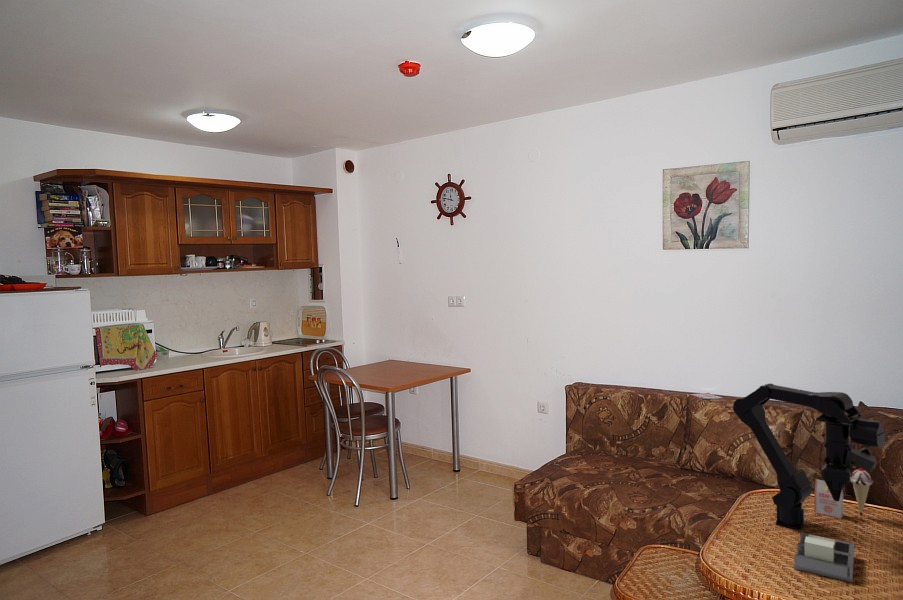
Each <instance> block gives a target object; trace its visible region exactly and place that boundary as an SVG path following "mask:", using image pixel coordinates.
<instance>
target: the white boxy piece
mask: <svg viewBox="0 0 903 600" xmlns="http://www.w3.org/2000/svg"><path fill="white" fill-rule="evenodd" d="M814 480H815V484H814V493H813V494H814V496H813V497H814V501H813V502H814V509H813V510H814V514H817V515H822V516H825V517H829V518H835V519H838V520H841V519H842V518H843V516H844V491H843V489H842V491H841V495H840V500H839V501H834V499H833V497H832V495H831V493H830V491H829V489H828V487H827V485H826V483H825V481H824V479H823V480H821V479H816V478H815V479H814Z"/></svg>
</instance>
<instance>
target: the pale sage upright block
mask: <svg viewBox="0 0 903 600" xmlns="http://www.w3.org/2000/svg"><path fill="white" fill-rule="evenodd" d="M805 556H807V557H811V558H816V559H820V560H825V561H829V562H834V542H831V541H826V540H821V539H816V538H811V537H807V536H806V538H805Z"/></svg>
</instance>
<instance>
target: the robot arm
mask: <svg viewBox="0 0 903 600" xmlns="http://www.w3.org/2000/svg"><path fill="white" fill-rule="evenodd" d="M770 400H772V401H773V400H774V401H777V402H783V403H789V404H794V405H798V406H804V407H808V408H812V409H814V410H816V411H817V412H818V413H821V414H820V416H818V417H816V418H815V420H816V421H817V422H824V442H823V443H824V447H823V448H824V459H823V461H824V463H825V464H824V465H822V468H821V478H822V479H823V481H825V483H826V485H827V487H828V489H829V491H830V493H831V495H832V497H833V499H834V501H839V500H840V495H841V491H842V490H843V487H844V485H845V484H849V483H850V482H851V481H850V477H851V469H850V468H852V465H853V466H855V467H858V468H862V469H863V470H864V471H866V472H868V473H872V471H873V470H874V467H875V465H876V463H877V458H876V457H875V455H872V453H871V452H872V451H871V449H869V448H868V447H865V446H869V447H872V448H878V449H881V448H883V446H884V445H885V442H886V432H885V429H884V426H883V422H882V421H881V420H875V419H874V420H870V419H864V418H863V416H862V414H861V413H860V412H859V410H858V409H857V408H856V407H855V405H854V402H853V399H852V398H851V397H850V396H849V394H847V393H846V392H840V391H821V392H814V391H809V390H803V389H799V388H793V387H788V386H781V385H776V384H774V383H766V384H763V385H760V386H758V388H757V389H756V390H754V391H753V392H751V393H749V394H748V395H746V396H744V397H741V398H736V400H735V401H733V405H732V410H733V412H734V414H735V415H736V417H737V418H738V419H739V420H740V422H742V423H743V424H744V425H746V426H747V427H748V428H749V429H750V430H751V432H752V434H753V435H754V437H755V439H756V441H757V442H758V444H759V446H760V448H761V449H762V451H763V453H764V455H765V456H766V458H767V459H768V461H769V463H770V465H771V467H772V468H773V470H774V471H775V474H776V479H777V480H776V482H777V486H778V489H779V492H778V493H776V494H775V495H773V496H772V497H771V499H772V502H773V504H774V505H775V506H776V520H775V525H776V526H780V527H785V528H790V529H795V530H801V531H802V527H803V526H804V525H805V520H806V519H805V517H806V516H805V508H803V503H804V502H805V500H806V499H807V498H809V497H810V496H811V494H812V492H813V488H812V481H810V480H809V479H808V477H807V474H806V472H805V471H804V470H803V469H802V470H800V471H798V470H797V469H796V468H795V467H793V465H792V463H791V462H790V460H789V459H788V457H787V455H786V454H785V452H784V450H783V448H782V447H781V445H780V443H779V442H778V439H777V438H776V437H775V435H774V433H773V432H772V429H771V428H770V427H769V425H768V423H767V421H766V420H767V419H766V411H765V409H764V405H765V404H767V403H768V402H769V401H770ZM851 441H852V442H853V443H854V444H858V445H862V446H864V447H862V448H860V449H858V448H857V449H856V448H852V447H853V446H852V445H853V444H852V442H851Z"/></svg>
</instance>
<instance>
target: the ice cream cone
mask: <svg viewBox="0 0 903 600" xmlns="http://www.w3.org/2000/svg"><path fill="white" fill-rule="evenodd" d="M869 473H870V472H867V471H865V470H864V469H862V468H860V467H858V469H854V470H853V472H851V476H850V482H851V483H852V485H853V490H854V495H855V498H856V503H857V507H858V510H859V515H860V517H862V516H863V513H864V512H863V511H864V509H865V504H866V502H867V498H868V493H869V490H870V486H872V485H873V484H874V481H873V479H872V478H871V475H870V474H869Z"/></svg>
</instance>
